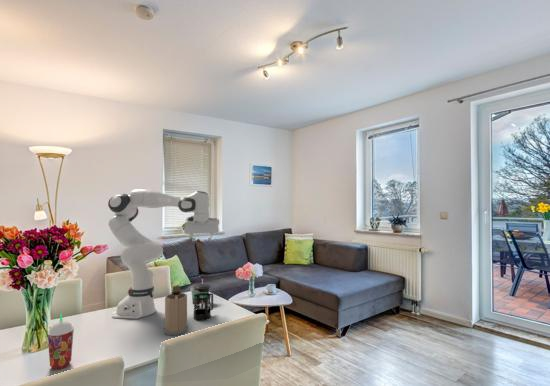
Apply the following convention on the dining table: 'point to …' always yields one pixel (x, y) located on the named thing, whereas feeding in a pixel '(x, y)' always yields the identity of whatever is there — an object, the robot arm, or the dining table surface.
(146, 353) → the dining table surface
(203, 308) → the french press
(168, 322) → the kraft paper canister
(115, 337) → the dining table surface
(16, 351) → the dining table surface
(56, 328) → the smoothie
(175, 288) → the plunger
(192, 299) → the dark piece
